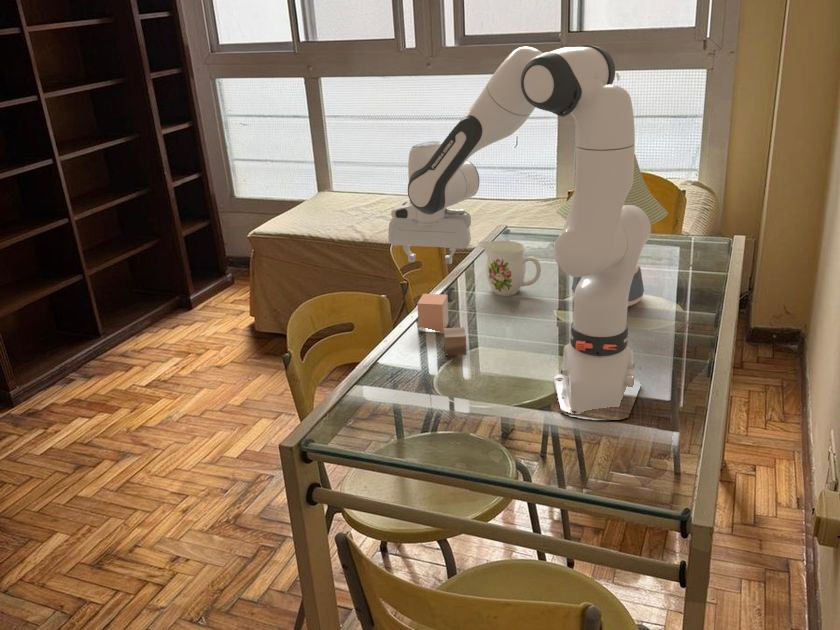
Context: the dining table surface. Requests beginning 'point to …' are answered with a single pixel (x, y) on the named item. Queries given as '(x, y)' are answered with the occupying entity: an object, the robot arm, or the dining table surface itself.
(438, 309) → the salmon pink cube
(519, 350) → the dining table surface
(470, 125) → the robot arm
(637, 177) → the desk lamp
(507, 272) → the pitcher
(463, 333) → the walnut block
